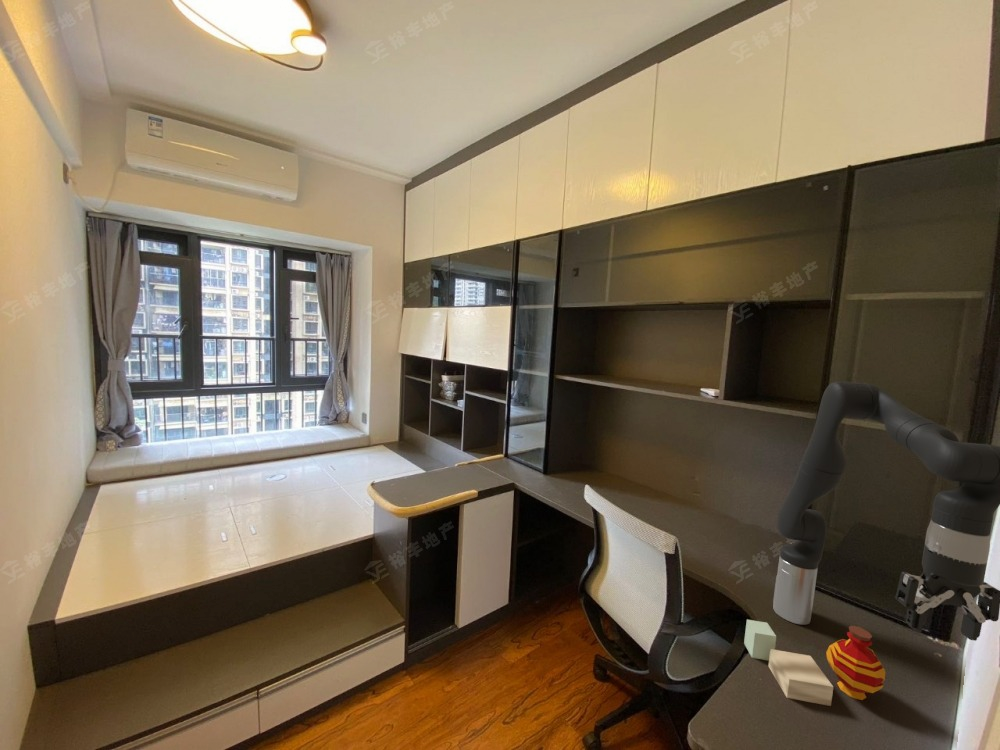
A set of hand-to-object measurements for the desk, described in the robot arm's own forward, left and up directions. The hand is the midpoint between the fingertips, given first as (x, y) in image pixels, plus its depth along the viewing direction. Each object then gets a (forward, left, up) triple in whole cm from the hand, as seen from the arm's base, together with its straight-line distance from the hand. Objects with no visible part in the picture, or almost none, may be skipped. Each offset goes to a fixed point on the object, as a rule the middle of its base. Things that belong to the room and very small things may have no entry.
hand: (940, 632), depth 74 cm
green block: (-26, -17, -29) cm, 43 cm away
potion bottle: (-18, 0, -30) cm, 35 cm away
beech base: (-17, -12, -30) cm, 36 cm away
